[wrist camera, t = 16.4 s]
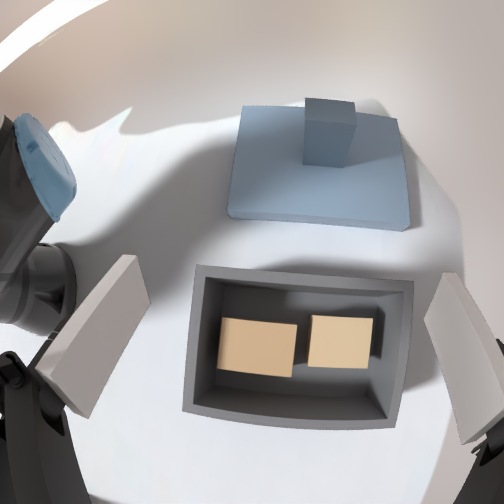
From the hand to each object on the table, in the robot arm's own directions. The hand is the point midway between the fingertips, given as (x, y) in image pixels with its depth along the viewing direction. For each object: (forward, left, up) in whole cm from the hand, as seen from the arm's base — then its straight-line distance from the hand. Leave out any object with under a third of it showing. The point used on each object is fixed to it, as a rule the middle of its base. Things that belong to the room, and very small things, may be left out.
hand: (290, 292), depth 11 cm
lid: (-12, +14, -22) cm, 29 cm away
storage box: (+4, -2, -22) cm, 22 cm away
